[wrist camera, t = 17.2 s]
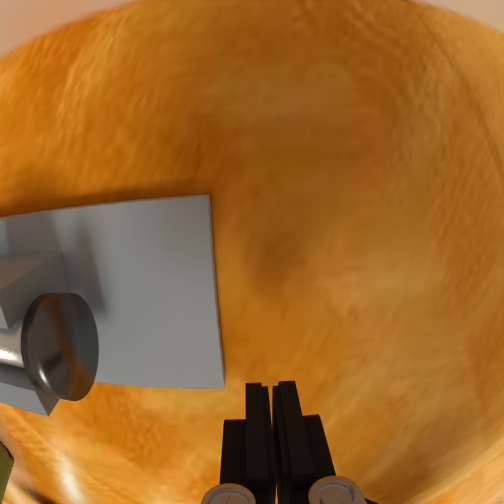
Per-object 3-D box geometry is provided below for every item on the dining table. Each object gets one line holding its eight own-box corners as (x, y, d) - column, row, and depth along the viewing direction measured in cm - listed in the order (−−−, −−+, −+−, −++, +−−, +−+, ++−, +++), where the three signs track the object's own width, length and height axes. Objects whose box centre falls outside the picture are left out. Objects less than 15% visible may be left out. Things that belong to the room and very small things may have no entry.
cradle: (209, 193, 14) (184, 219, 8) (225, 377, 16) (219, 464, 11) (-61, 229, 13) (-118, 253, 7) (-26, 349, 16) (-67, 390, 10)
